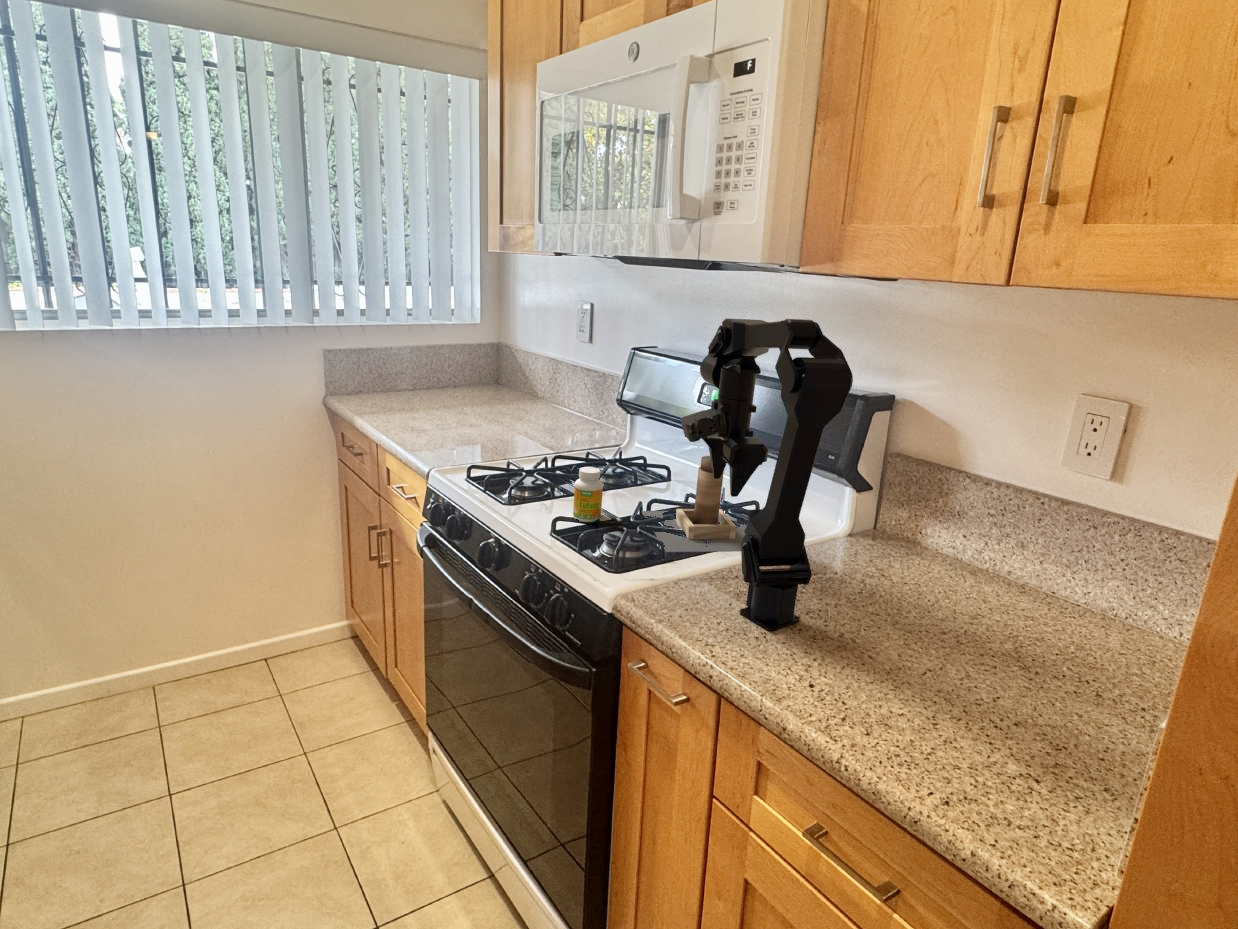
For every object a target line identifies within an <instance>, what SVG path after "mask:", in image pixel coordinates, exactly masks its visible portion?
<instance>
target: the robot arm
mask: <svg viewBox="0 0 1238 929" xmlns="http://www.w3.org/2000/svg"><path fill="white" fill-rule="evenodd" d="M721 324H722V325H719V326H718V328H717V330H716V332H715V335H714V336H713V339H712V340H711V342H710V343H709V344H708V347H707V348H708V349H707V350H708V353H707V355H706V356H705V357H704V358H703V360H702V362H701V363H700V365H699V374H700V376H701V378H702V380H704V381H705V383H708V384H710V385H711V386H713V387H715V388H717V389H718V393H717V394H718V395H717V398H713V400H712V401H711V405H710V408H708V409H704V410H701V411H696V412H693V413H691V414H687V415H685V416H682V417H681V418H680V419H679V420H680V423H681V426H682V431H683V434H684V437H685V438H687V440H688V441H689V443H696V442H699V441H700V440H702V441H703V442H704V443H705V445H707V448H708V451H709V452H708V453H709V456H710V458H711V464H712V471H713V477H714V478H715V479H720V477H721V475H722V473H723V471H724V472H725V469H726V466H727V465H728V467H729V491H730V494H729V495H730V496H731V497H733V498H734V497H738V496H739V495H740V493H741V492H742V491H743V488H745V485H746V484H747V482H748V481H749V480H750V478H751V477H752V475H753V474H754V473H755V472H756V470H757V469H758V468H759V466H762V465H763V464H764V463H766V462H768V456H769V449H768V447H767V446H765V444H764V443H763V442H761V441H760V440H758V439H757V438H754V430H752V429H751V421H752V419H751V418H752V414H753V413H757V405H755V404H753V403H754V396H755V395H754V394H755V388H756V378H757V375H760V374H761V372H762V370H761V368H760V365H758V364H757V362H756V359H757V358H758V356H759V357H760V356H762V355H765V354H768V352H769V351H770V350H771V349H779V355H778V358H777V360H776V363H775V366H774V369H775V372H776V374H777V377H778V379H779V382H780V386H781V391H780V398H781V401H782V403H783V406H784V409H785V412H786V415H787V419H786V423H785V427H784V431H783V434H782V438H781V442H780V447H779V451H778V455H777V459H776V462H775V467H774V471H773V473H772V474H773V475H772V479H771V482H770V485H769V491H768V494H767V499H766V502H765V506H764V507H763V508H759V509H755V508H754V509H751V511H750V513H749V514H748V518H747V522H748V523H747V527H746V529H745V531H744V533H746V534H745V536H744V537H743V540H742V543H741V551H740V552H741V553H740V554H741V555H740V556H741V571H742V572H741V573H742V576H743V578H742V580H743V582H744V583H748V589H747V596H746V603H745V606H746V607H743V608H741V609H740V610H739V614H740V615H741V616H744V617H745V618H747V619H748V620H750V621H752V622H754V623H755V624H757V625H758V626H760V627H762V628H763V629H765V630H767V631H769V632H774V631H777V630H779V629H782V628H785V627H788V626H791V625H793V624H797V623H799V622H800V621H801V618H800V617H799V616H798V615H796V614H795V608H796V602H797V596H798V590H799V585H803V586H806V585H807V586H808V585H809V583H810V581H811V579H812V576H813V574H812V569H811V564H810V562H809V557H808V553H807V550H806V546H805V542H806V541H805V540H806V532H805V531H804V528H803V526H802V523H801V520H800V515H801V511H802V508H803V505H804V504H803V503H804V501H805V497H806V493H807V489H808V486H809V482H810V481H811V480H810V479H811V476H812V471H813V468H814V465H815V463H816V462H815V461H816V457H817V453H818V451H819V447H820V444H821V440H822V437H823V433H824V430H825V428H826V426H828V424H829V423H830V422H832V420H833V419H835V418H836V417H837V416H838V415H839V414H840V413H841V412H842V410H843V408H844V406H845V404H846V402H847V399H848V397H849V394H850V391H851V390H852V388H853V382H854V378H853V377H854V376H853V372H852V370H851V368H850V365H849V364H848V361H847V358H846V357H845V354H844V352H843V351H842V349H840V347H839V346H837V345H836V343H834V342H833V341H832V340H831V339H829V338H828V337H827V336H826V335H825V334H824V333H823V331H822V329H821V327H820V324H819V323H818V322H816V321H814V320H812V319H804V318H803V319H799V318H798V319H797V318H786V319H784V320H780V321H779V320H777V321H765V320H763V319H749V318H747V319H746V318H745V319H744V318H725V319H723V321H722V322H721ZM790 350H807V351H808V353H809V354H810V355H811V356H812V357H806V356H805V357H804V356H803V357H802V356H801V357H800V356H797V357H795V358H793V357H792V356H791V353H790ZM784 566H785V567H784ZM786 566H790V567H786ZM763 567H766V568H763ZM767 567H777V568H767ZM779 567H780V568H779ZM782 567H783V568H782Z"/></svg>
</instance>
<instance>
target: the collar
mask: <svg viewBox="0 0 1238 929" xmlns="http://www.w3.org/2000/svg"><path fill="white" fill-rule="evenodd" d="M675 511H676V519H675V521H676V523H677V524H678V526H679V527H680V529H682V530H683V531H684V532H685V534H686V537H687V539H708V538H709V539H735V534H736V525H735V524H734V523H733V522H732V521H731V519H730V518H729V517H728V516H727V515H726V514H725V513H724V512H723V511H724V510H723V509H722V508H719V516H718V521H719V522H720V524H692V523H693V517H694V508H676V509H675Z"/></svg>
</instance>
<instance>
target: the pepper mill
mask: <svg viewBox="0 0 1238 929" xmlns="http://www.w3.org/2000/svg"><path fill="white" fill-rule="evenodd" d="M700 459H701V460H700V466H699V467H698V472H697V482H696V490H695V501H694V508H693V509H694V517H693V524H718V516H719V509H720V507H721V497H722V489H723V481H724V472H725V470H724V471H723V473H722V475H721V477H720V479H715V478H714V477H713V471H712V464H711V458H710V455H704V456H701V458H700Z"/></svg>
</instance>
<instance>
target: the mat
mask: <svg viewBox="0 0 1238 929" xmlns="http://www.w3.org/2000/svg"><path fill="white" fill-rule="evenodd" d="M668 511H669V510H641V514H643V516H644V517H645V516H650V515H651V516H654V517H655V516H656V517H660V518H663V515H662V514H663V513H664V512H668ZM692 524H693V523H692ZM664 525H666V526H672V527H674V528H677V529H680V527H679V526H678V524H677V523H676V521H675V519H673V520H665V522H664ZM746 527H747V525H745V524H744V525H743V524H741V525H740V527H738V528H736V534H735V539H712V540H711V541H708V542H711V543H709V544H708V542H707V544H706V543H704V542H705V541H702V542H701V541H700V540H699V539H687V538H686V537H685V538H684V537H682V536H678V535H674V534H671V533H666V532H654V531H653V533H654V535H655V536H656V538H657V539H659V540H660V541H662V542H663V543H664V545H665V547H664V548H663V549H664V551H665V553H702V552H705V553H706V552H707V553H710V552H711V553H713V552H715V553H717V552H718V553H719V552H741V543H742V540H743V537H744V536H745V534H746V533H744V531H745V529H746ZM659 540H658V541H659ZM660 541H659V542H660ZM706 546H707V547H706Z"/></svg>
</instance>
